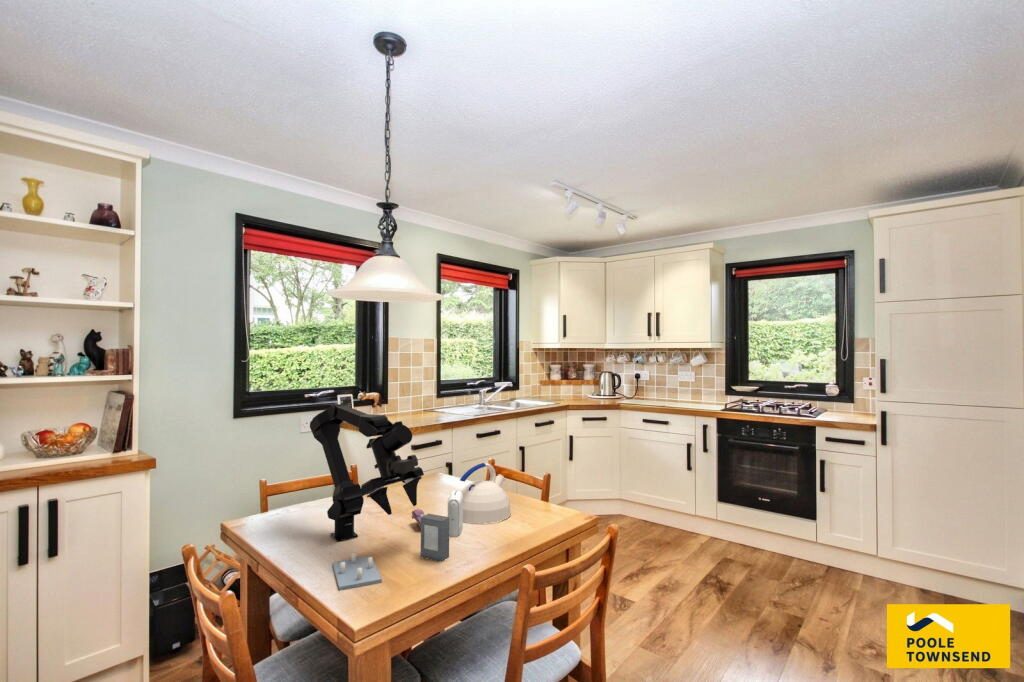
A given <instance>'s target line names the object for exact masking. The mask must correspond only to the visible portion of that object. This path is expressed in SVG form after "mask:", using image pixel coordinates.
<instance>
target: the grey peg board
mask: <svg viewBox="0 0 1024 682" xmlns="http://www.w3.org/2000/svg"><path fill="white" fill-rule="evenodd" d="M350 558H351V559H346V560H339V561H334V562H332V568H333V572H334V577H335V580H336V584H337V587H338V591H342V590H343V591H344V590H347V589H349V590H350V589H354V588H359V587H364V586H369V585H374V584H380V583H382V582H383V579H382V576H381V574H380V571H379V570H378V567H377V566H376V563H375V560H374V558H373V556H372V555H369V556H364V557H357V552H356V551H352V552H351V553H350Z"/></svg>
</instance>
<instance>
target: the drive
mask: <svg viewBox="0 0 1024 682" xmlns="http://www.w3.org/2000/svg"><path fill="white" fill-rule="evenodd" d="M421 557H423V558H422V559H426V558H428V559H427V560H430V559H432V560H431V561H435V560H436V562H439V561H441V562H440V563H443V562H444V561H446V560H448V558H450V536H449V517H448V516H445V515H440V514H439V515H438V514H434V513H427V514H425V516H423V517H421V528H420V558H421ZM445 559H446V560H445ZM442 561H443V562H442Z"/></svg>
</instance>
